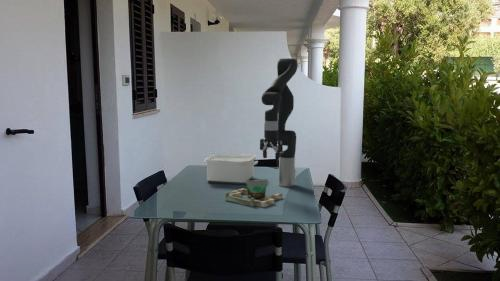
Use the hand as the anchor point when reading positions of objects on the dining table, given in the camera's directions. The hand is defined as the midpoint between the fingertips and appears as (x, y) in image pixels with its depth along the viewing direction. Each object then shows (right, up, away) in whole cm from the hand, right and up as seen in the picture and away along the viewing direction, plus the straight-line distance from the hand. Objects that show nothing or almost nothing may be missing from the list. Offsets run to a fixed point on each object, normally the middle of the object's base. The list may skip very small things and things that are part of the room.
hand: (271, 158), depth 249 cm
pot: (-23, -15, +40) cm, 49 cm away
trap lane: (-9, -21, -8) cm, 24 cm away
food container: (-7, -21, -6) cm, 23 cm away
